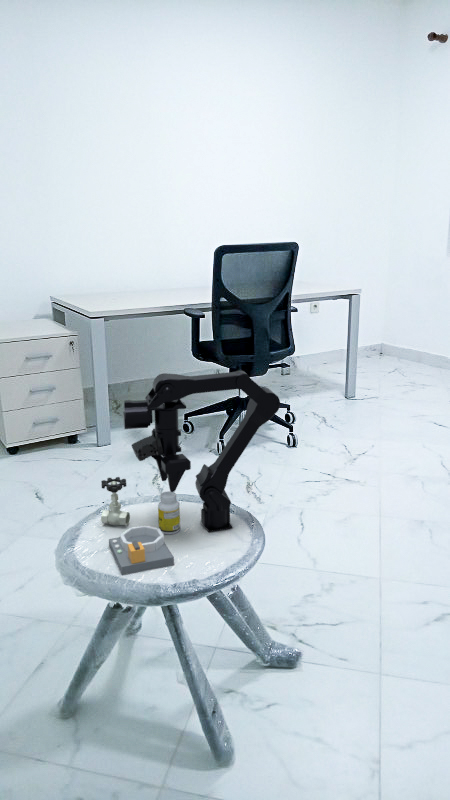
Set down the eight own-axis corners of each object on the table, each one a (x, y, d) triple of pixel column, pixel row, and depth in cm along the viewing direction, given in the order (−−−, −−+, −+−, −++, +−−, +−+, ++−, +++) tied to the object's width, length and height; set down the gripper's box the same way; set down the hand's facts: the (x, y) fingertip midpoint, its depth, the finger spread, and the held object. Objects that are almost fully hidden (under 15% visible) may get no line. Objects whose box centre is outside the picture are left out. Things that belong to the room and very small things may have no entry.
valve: (123, 531, 159) (121, 487, 156) (99, 529, 160) (96, 485, 157) (132, 520, 165) (130, 477, 162) (108, 518, 167) (106, 475, 163)
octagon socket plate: (157, 538, 156) (156, 523, 155) (174, 565, 143) (173, 549, 142) (109, 546, 152) (108, 531, 150) (121, 575, 139) (121, 558, 138)
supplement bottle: (159, 525, 162) (158, 490, 160) (180, 525, 163) (179, 489, 160) (158, 535, 157) (157, 499, 155) (180, 534, 157) (179, 498, 155)
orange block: (141, 553, 144) (140, 539, 143) (145, 561, 141) (144, 546, 140) (128, 556, 143) (127, 541, 142) (131, 563, 140) (131, 549, 139)
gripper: (125, 419, 158) (127, 477, 162) (143, 441, 141) (146, 505, 145) (168, 414, 162) (169, 471, 166) (190, 436, 145) (191, 498, 149)
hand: (168, 486), depth 157 cm, fingers open, 7 cm apart
